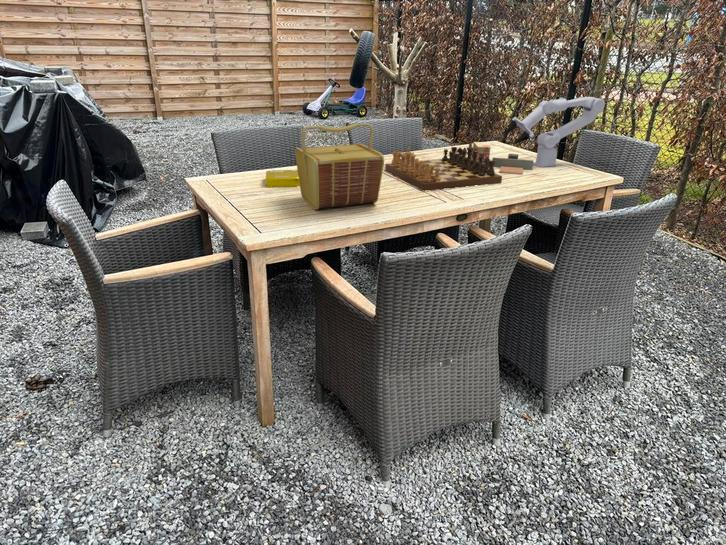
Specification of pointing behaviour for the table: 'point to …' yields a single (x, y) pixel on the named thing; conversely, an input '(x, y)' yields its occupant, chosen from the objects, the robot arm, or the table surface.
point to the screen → (513, 163)
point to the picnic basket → (339, 172)
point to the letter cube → (513, 156)
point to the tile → (511, 170)
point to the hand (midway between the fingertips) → (509, 138)
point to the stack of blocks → (481, 150)
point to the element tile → (282, 178)
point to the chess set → (444, 169)
